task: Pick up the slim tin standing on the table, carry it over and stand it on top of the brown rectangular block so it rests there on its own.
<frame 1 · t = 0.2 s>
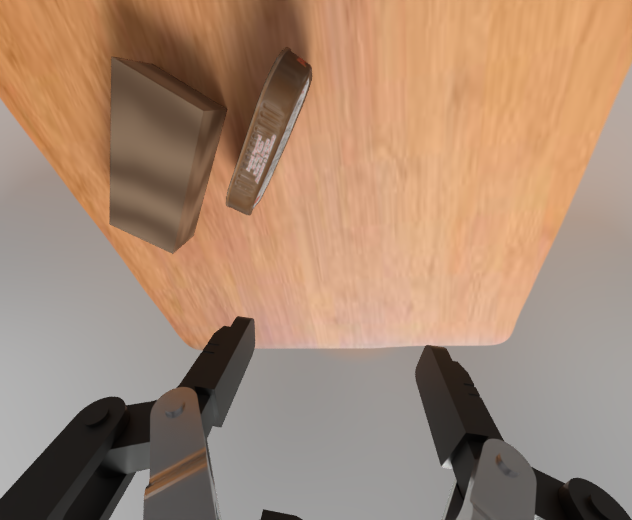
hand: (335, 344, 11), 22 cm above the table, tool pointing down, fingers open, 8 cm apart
brown rectangular block: (176, 166, 29), on the table
tin: (278, 139, 27), on the table
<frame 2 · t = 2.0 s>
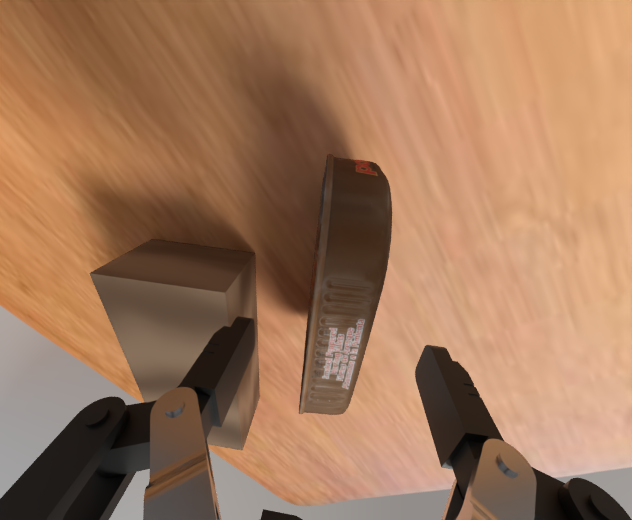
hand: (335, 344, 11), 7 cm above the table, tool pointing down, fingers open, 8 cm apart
brown rectangular block: (215, 333, 22), on the table
tin: (335, 261, 18), on the table
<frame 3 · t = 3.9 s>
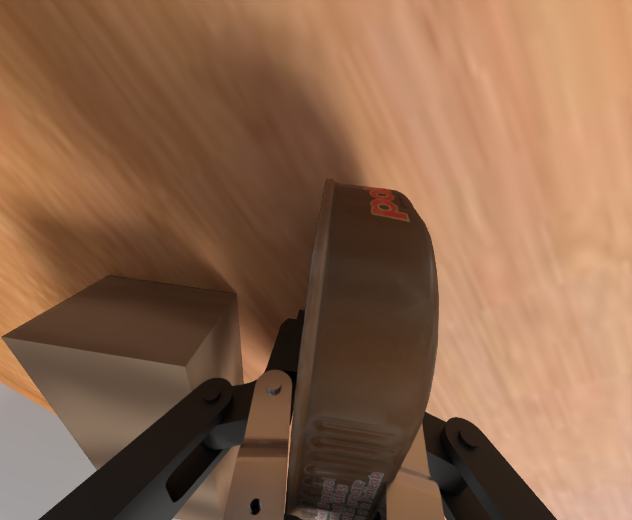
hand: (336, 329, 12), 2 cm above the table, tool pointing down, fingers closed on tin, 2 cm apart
brown rectangular block: (193, 382, 18), on the table
tin: (342, 307, 14), on the table, touching gripper
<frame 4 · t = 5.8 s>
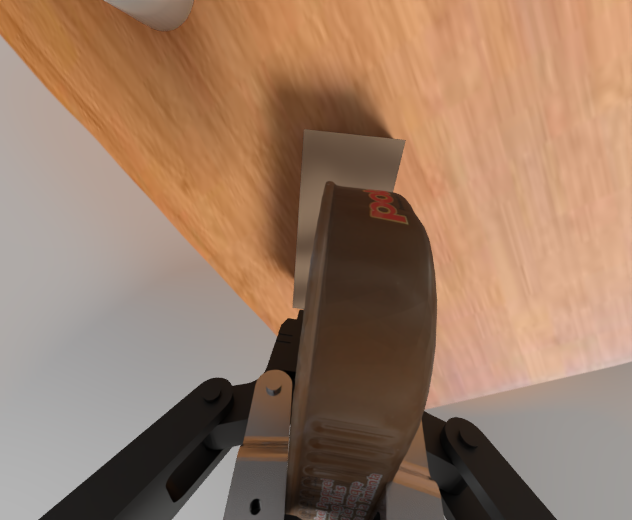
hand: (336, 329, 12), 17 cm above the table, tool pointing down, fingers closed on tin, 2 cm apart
brown rectangular block: (339, 223, 27), on the table
tin: (342, 308, 14), point 15 cm above the table, touching gripper
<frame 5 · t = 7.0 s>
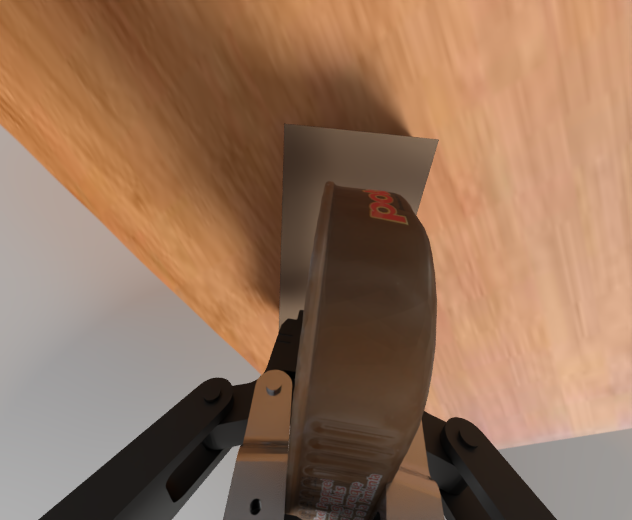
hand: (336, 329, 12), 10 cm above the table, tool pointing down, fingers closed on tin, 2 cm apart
brown rectangular block: (338, 248, 21), on the table
tin: (342, 308, 14), point 8 cm above the table, touching gripper
when the fingers open (7 cm above the table, at t = 8.1 s): tin stays where it is, resting on brown rectangular block.
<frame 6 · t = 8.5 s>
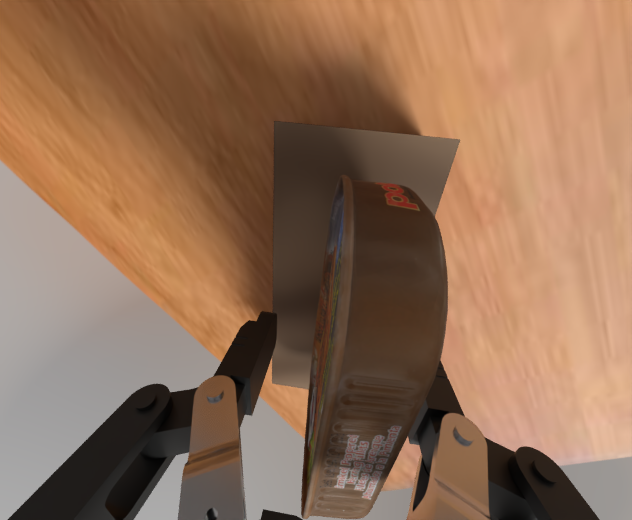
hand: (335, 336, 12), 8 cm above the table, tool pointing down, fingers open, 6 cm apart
brown rectangular block: (339, 261, 19), on the table
tin: (345, 297, 14), point 5 cm above the table, touching brown rectangular block
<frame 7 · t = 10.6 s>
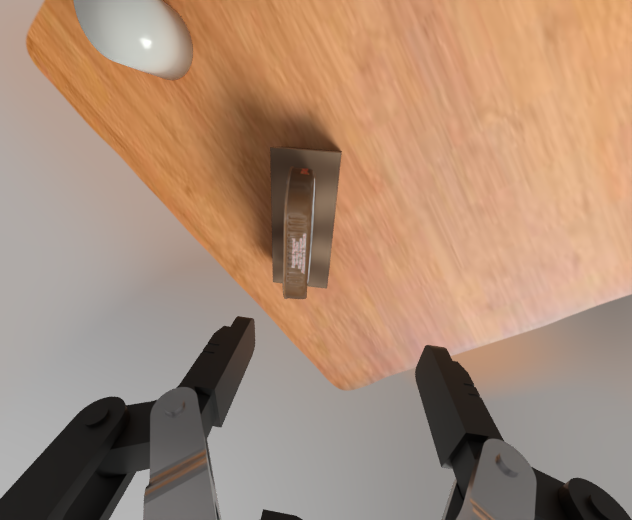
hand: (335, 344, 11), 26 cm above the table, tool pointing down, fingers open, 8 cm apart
brown rectangular block: (307, 216, 35), on the table
white rounded capsule: (164, 43, 28), on the table
tin: (305, 226, 31), point 5 cm above the table, touching brown rectangular block
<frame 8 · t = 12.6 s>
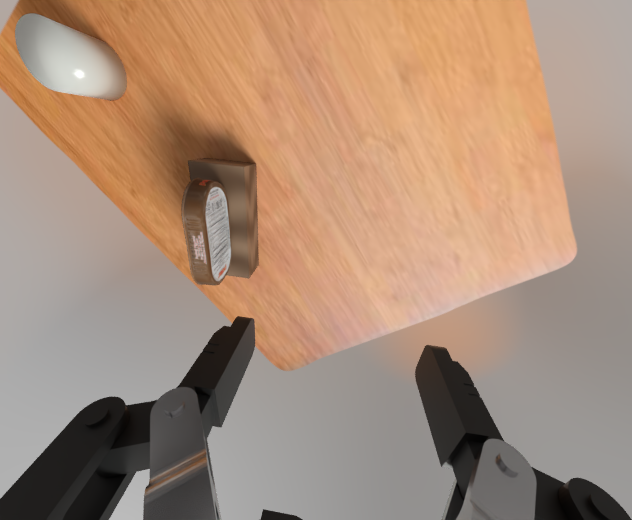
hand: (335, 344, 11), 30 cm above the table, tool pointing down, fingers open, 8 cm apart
brown rectangular block: (235, 216, 41), on the table
white rounded capsule: (102, 71, 33), on the table
tin: (225, 225, 37), point 5 cm above the table, touching brown rectangular block
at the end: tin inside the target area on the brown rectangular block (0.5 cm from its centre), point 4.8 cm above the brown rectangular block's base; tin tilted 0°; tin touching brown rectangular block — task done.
